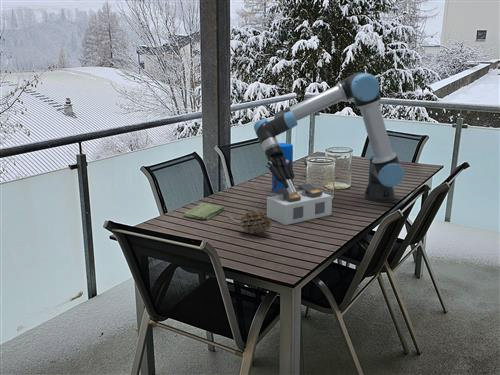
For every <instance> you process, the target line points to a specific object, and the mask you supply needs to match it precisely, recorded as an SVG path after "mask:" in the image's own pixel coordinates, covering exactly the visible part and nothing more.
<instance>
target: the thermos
mask: <svg viewBox="0 0 500 375" xmlns="http://www.w3.org/2000/svg"><path fill="white" fill-rule="evenodd" d="M278 143H279V145H280V147H281V149H282V152H283V156H284V157H285V158H286V159H287V160H290V159H291V160H292V162H291V165H292V169H293V168H294V167H293V166H294V164H293V163H294V160H293V159H294V145H293V143H288V142H287V143H286V142H278ZM285 164H286V162H285ZM286 167H287V165H286ZM293 180H294V179H293ZM293 180H292V181H293ZM282 187H284V185H283V184H281V182H278V181H277V180H276V178H275V177H274V176H273V174H272V173H271V189H272V191H271V192H273V193H274V194H275V193H276V194H279V193H278V192H277V188H282Z"/></svg>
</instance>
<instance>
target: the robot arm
mask: <svg viewBox="0 0 500 375" xmlns="http://www.w3.org/2000/svg"><path fill="white" fill-rule="evenodd" d="M351 99H353V101H354V105H355V107H356V108H357V109H359V110H360V114H361V118H362V120H363V123H364V127H365V130H366V133H367V137H368V140H369V144H370V147H371V152H372V153H371V154H370V155H369V167H368V170H369V171H368V183H367V186H366V187H365V188H366V189H365V191H364V196H363V197H364V199H366V200H369V201H371V202H377V203H387V202H388V203H389V202H392V201H395V200H396V191H395V189H394V187H396V186H398V185H399V184H401V183H402V182H403V180H404V177H405V170H404V167H403V166H402V165H401V164H400V160H399V158H398V154H397V153H396V152H394V151H393V149H392V145H391V142H390V138H389V136H388V131H387V127H386V124H385V121H384V118H383V113H382V111H381V107H380V101H381V99H382V97H381V95H380V83H379V81H378V79H377V78H376V77H375V76H374V75H373V74H370V73H367V72H361V71H359V72H355V73H353V74H351V75H349V76H347V77H346V78H343V79H342V80H340V81H338V82H337V84H336V85H334V86H333V87H331V88H328V89H326V90H323V91H322V92H319V93H317V94H315V95H313V96H311V97H308V98H306V99H305V100H303V101H301V102H300V101H299V103H296V104H293V105H291V106H289V107H287V108H286V109H283V110H279V111H277V112H276V113H275V114H274V117H273V119H271V120H267V119H265V118H262V119H259V120H257V121H255V123H254V125H253V130H254V132H255V136H256V137H257V139H258V141H259V144H260V145H261V147H262V149H263V152H264V154H265V157H266V158H267V160H268V161H267V163H266V164H265V167H266V168H267V169H268V170H269V171H270V172H271V175H272V174H273V176H274V177H275V178H276V180H277V181H278V182H281V184H283V185H284V187H285V188H286V189H287V191H288V193H289V195H294V194H295V192H297V191H296V188H295V184H294V183H295V182H293V181H292V180H294V178H295V172H294V170H293V169H292V165H291V162H292V160H291V159H290V160H287V159H286V158H285V157H284V156H283V152H282V149H281V147H280V145H279V143H280V142H278V140H277V136H279V135H281V134H283V133H285V132H287V131H289V130H292V129H293V128H295V127H296V126H297V125H298V121H301V120H302V119H304V118H307V117H308V116H309V117H310V116H311V115H313V114H315V113H317V112H319V111H322V110H324V109H326V108H328V107H331V106H333V105H335V104H337V103H339V102H342V101H346V102H347V101H349V100H351ZM285 162H286V164H285ZM286 165H287V167H286Z"/></svg>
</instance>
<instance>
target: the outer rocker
mask: <svg viewBox="0 0 500 375" xmlns="http://www.w3.org/2000/svg"><path fill="white" fill-rule="evenodd" d="M277 192H278V193H277V194H279V195H280V194H283V195H284V198H285V199H286V200H287V201H288V202H294V201H299V200H301V197H300V196H299V195H298V194H297V193H296V192H297V191H296V192H295V194H294V195H289V193H288V191H287V189H286V188H285V187H282V188H277Z"/></svg>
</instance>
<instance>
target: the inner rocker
mask: <svg viewBox="0 0 500 375" xmlns="http://www.w3.org/2000/svg"><path fill="white" fill-rule="evenodd" d="M297 188H298V189H299V190H300V191H302V190H305V191H306V194H307V195H309V196H310V197H315V196H320V195H322V192H323V191H322V190H320V189H319V188H318V187H316V188H315V186H314V185H313V184H311V183H305V184H300V185H298V187H297ZM317 188H318V189H317Z"/></svg>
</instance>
